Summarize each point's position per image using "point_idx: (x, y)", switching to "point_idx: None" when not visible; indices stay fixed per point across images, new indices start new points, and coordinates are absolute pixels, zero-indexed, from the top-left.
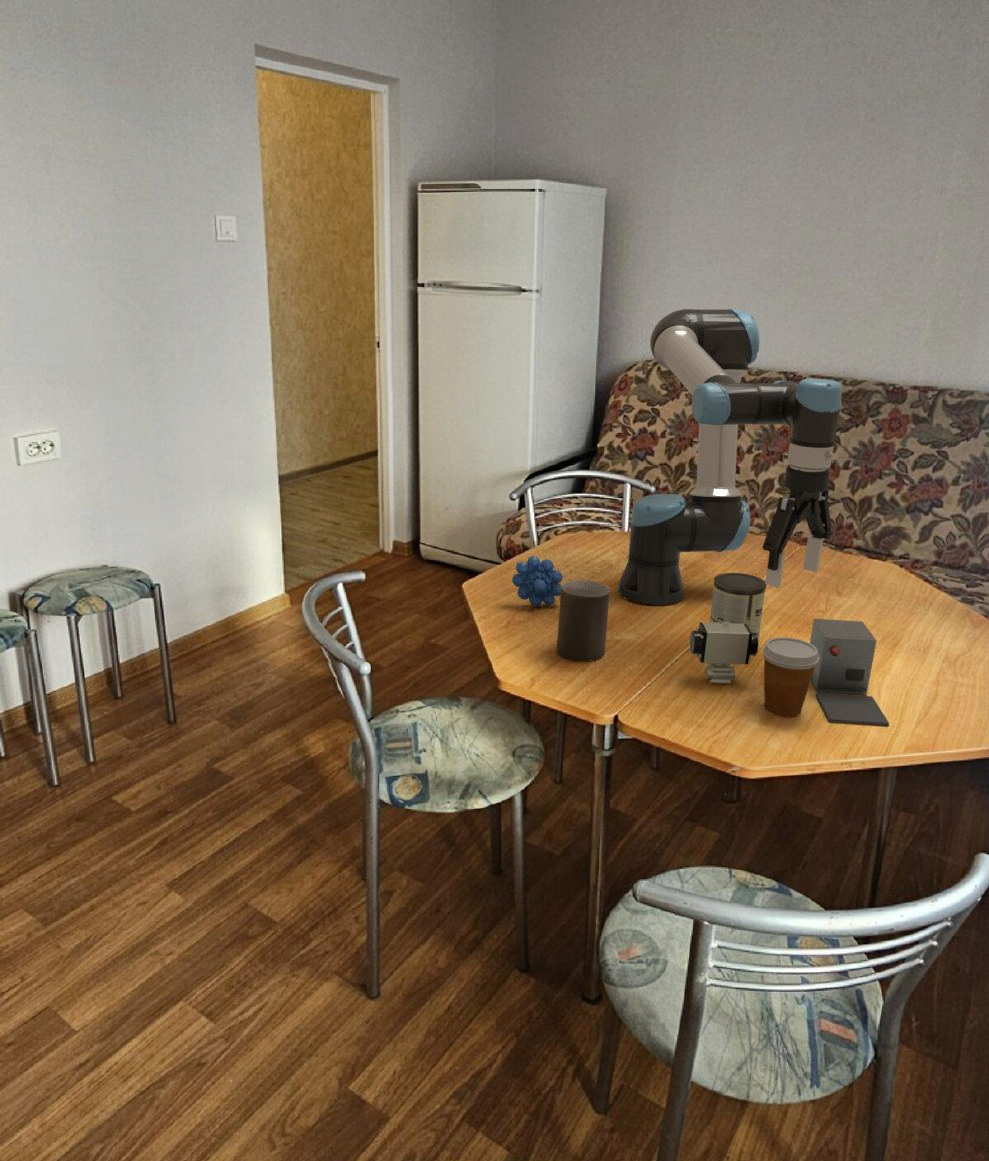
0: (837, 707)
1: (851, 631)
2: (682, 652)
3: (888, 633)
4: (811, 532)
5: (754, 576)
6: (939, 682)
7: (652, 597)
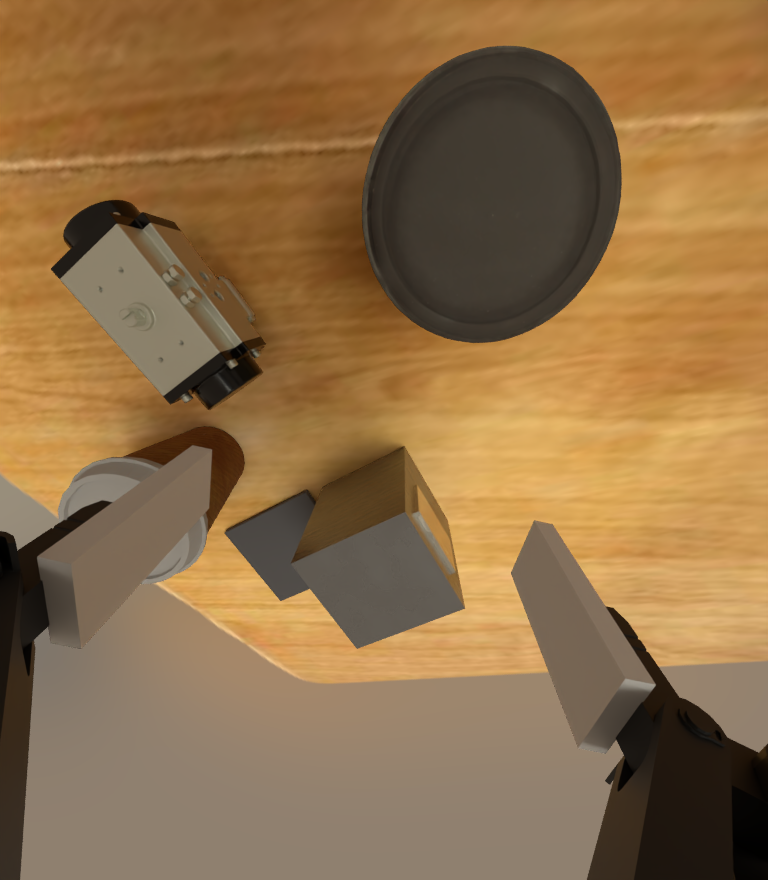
0: (275, 533)
1: (376, 600)
2: (313, 145)
3: (714, 534)
4: (655, 731)
5: (600, 247)
6: (499, 630)
7: None
